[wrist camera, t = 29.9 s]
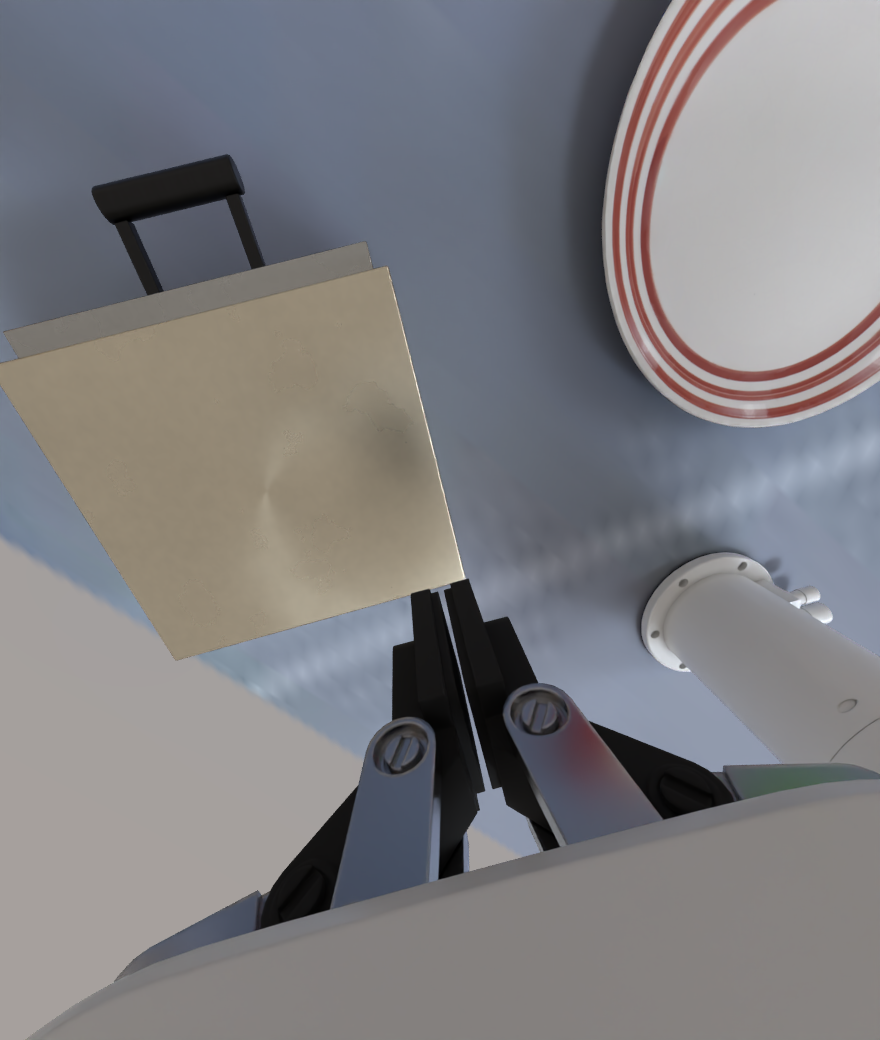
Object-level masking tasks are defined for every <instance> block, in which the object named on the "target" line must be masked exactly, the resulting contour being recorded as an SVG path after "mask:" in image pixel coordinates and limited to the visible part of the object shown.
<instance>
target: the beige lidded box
mask: <svg viewBox="0 0 880 1040" xmlns="http://www.w3.org/2000/svg"><path fill="white" fill-rule="evenodd" d="M0 385H1V387H2V389H3V390H4V392H5V393H6V395H7V397H8V398H9V400H10V401H11V403H12V404H13V406H14V408H15V409H16V411H17V412H18V414H19V415H20V417H21V419H22V420H23V422H24V423H25V425H26V426H27V428H28V430H29V431H30V433H31V434H32V436H33V437H34V439H35V441H36V442H37V444H38V445H39V447H40V448H41V450H42V452H43V453H44V455H45V456H46V458H47V459H48V461H49V463H50V464H51V466H52V467H53V469H54V470H55V472H56V474H57V475H58V477H59V478H60V480H61V481H62V483H63V485H64V486H65V488H66V489H67V491H68V492H69V494H70V496H71V497H72V499H73V500H74V502H75V503H76V505H77V507H78V508H79V510H80V511H81V513H82V514H83V516H84V518H85V519H86V521H87V522H88V524H89V525H90V527H91V529H92V530H93V532H94V533H95V535H96V536H97V538H98V540H99V541H100V543H101V544H102V546H103V547H104V549H105V551H106V552H107V554H108V555H109V557H110V558H111V560H112V562H113V563H114V565H115V566H116V568H117V569H118V571H119V573H120V574H121V576H122V577H123V579H124V580H125V582H126V584H127V585H128V587H129V588H130V590H131V591H132V593H133V595H134V596H135V598H136V599H137V601H138V602H139V604H140V606H141V607H142V609H143V610H144V612H145V613H146V615H147V617H148V618H149V620H150V621H151V623H152V624H153V626H154V628H155V629H156V631H157V632H158V634H159V635H160V637H161V639H162V640H163V642H164V643H165V645H166V646H167V648H168V649H169V651H170V653H171V654H172V656H173V657H174V659H175V660H180V659H183V658H188V657H191V656H195V655H198V654H202V653H205V652H209V651H213V650H216V649H220V648H223V647H227V646H231V645H234V644H238V643H241V642H245V641H248V640H252V639H256V638H259V637H263V636H266V635H270V634H273V633H277V632H281V631H284V630H288V629H291V628H295V627H298V626H302V625H306V624H309V623H313V622H316V621H320V620H323V619H327V618H331V617H334V616H338V615H341V614H345V613H348V612H352V611H356V610H359V609H363V608H366V607H370V606H374V605H377V604H381V603H384V602H388V601H391V600H395V599H399V598H402V597H406V596H409V595H411V593H414V592H418V591H422V590H426V589H430V590H431V589H434V588H438V587H441V586H445V585H449V584H450V583H453V582H457V581H460V580H464V579H466V577H465V573H464V569H463V565H462V561H461V557H460V553H459V549H458V545H457V541H456V537H455V533H454V529H453V525H452V521H451V516H450V512H449V508H448V504H447V500H446V496H445V492H444V488H443V484H442V480H441V476H440V472H439V468H438V464H437V460H436V456H435V452H434V448H433V444H432V440H431V436H430V432H429V428H428V424H427V420H426V416H425V412H424V408H423V404H422V400H421V396H420V391H419V387H418V383H417V379H416V375H415V371H414V367H413V363H412V359H411V355H410V351H409V347H408V343H407V339H406V335H405V331H404V327H403V323H402V319H401V315H400V311H399V307H398V303H397V299H396V295H395V291H394V287H393V283H392V279H391V275H390V271H389V267H388V266H382V267H378V268H374V269H370V270H367V271H363V272H359V273H355V274H351V275H347V276H343V277H339V278H335V279H331V280H327V281H323V282H319V283H315V284H311V285H307V286H303V287H299V288H295V289H291V290H287V291H283V292H279V293H275V294H271V295H268V296H264V297H260V298H256V299H252V300H248V301H244V302H240V303H236V304H232V305H228V306H224V307H220V308H216V309H212V310H208V311H204V312H200V313H196V314H192V315H188V316H184V317H180V318H176V319H172V320H169V321H165V322H161V323H157V324H153V325H149V326H145V327H141V328H137V329H133V330H129V331H125V332H121V333H117V334H113V335H109V336H105V337H101V338H97V339H93V340H89V341H85V342H81V343H77V344H73V345H69V346H66V347H62V348H58V349H54V350H50V351H46V352H42V353H38V354H34V355H30V356H26V357H22V358H18V359H14V360H10V361H6V362H2V363H0Z"/></svg>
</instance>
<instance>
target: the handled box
mask: <svg viewBox="0 0 880 1040" xmlns="http://www.w3.org/2000/svg"><path fill="white" fill-rule="evenodd" d="M244 194H245V189H244V185H243V182H242V179H241V176H240V173H239V171H238V169H237V166H236V164H235V162H234V160H233V159H232V157H231V156H230V155H228V154H226V155H222V156H218V157H214V158H209V159H205V160H201V161H197V162H193V163H189V164H184V165H180V166H176V167H172V168H168V169H164V170H159V171H155V172H151V173H147V174H143V175H139V176H134V177H130V178H126V179H122V180H118V181H114V182H110V183H105V184H101V185H97V186H94V187H93V188H92V195H93V198H94V200H95V203H96V205H97V206H98V208H99V210H100V211H101V213H102V214H103V215H104V217H105V218H106V219H107V220H108V221H109V222H110V223H111V224H113V225H115V226H116V228H117V230H118V232H119V235H120V237H121V239H122V241H123V243H124V245H125V248H126V250H127V252H128V254H129V256H130V259H131V261H132V263H133V265H134V267H135V269H136V272H137V274H138V276H139V278H140V280H141V282H142V285H143V287H144V289H145V291H146V293H147V296H143V297H139V298H135V299H131V300H127V301H123V302H119V303H115V304H111V305H107V306H103V307H99V308H95V309H91V310H87V311H83V312H79V313H75V314H71V315H67V316H63V317H59V318H55V319H51V320H47V321H43V322H39V323H35V324H31V325H27V326H23V327H19V328H15V329H11V330H7V331H4V332H3V333H4V335H5V337H6V338H7V340H8V341H9V343H10V345H11V346H12V348H13V350H14V351H15V353H16V355H17V356H18V358H22V357H26V356H30V355H34V354H38V353H42V352H46V351H50V350H54V349H58V348H62V347H66V346H69V345H73V344H77V343H81V342H85V341H89V340H93V339H97V338H101V337H105V336H109V335H113V334H117V333H121V332H125V331H129V330H133V329H137V328H141V327H145V326H149V325H153V324H157V323H161V322H165V321H169V320H172V319H176V318H180V317H184V316H188V315H192V314H196V313H200V312H204V311H208V310H212V309H216V308H220V307H224V306H228V305H232V304H236V303H240V302H244V301H248V300H252V299H256V298H260V297H264V296H268V295H271V294H275V293H279V292H283V291H287V290H291V289H295V288H299V287H303V286H307V285H311V284H315V283H319V282H323V281H327V280H331V279H335V278H339V277H343V276H347V275H351V274H355V273H359V272H363V271H367V270H370V269H373V265H372V261H371V257H370V253H369V250H368V246H367V242H366V241H363V242H359V243H355V244H351V245H347V246H343V247H339V248H335V249H331V250H327V251H323V252H319V253H315V254H311V255H307V256H303V257H299V258H295V259H291V260H287V261H283V262H279V263H275V264H271V265H267V266H266V265H265V262H264V259H263V256H262V253H261V251H260V248H259V245H258V242H257V239H256V236H255V233H254V231H253V228H252V225H251V222H250V219H249V216H248V214H247V211H246V208H245V205H244V202H243V199H242V197H241V195H244ZM224 199H226V200H227V203H228V205H229V208H230V211H231V214H232V216H233V219H234V222H235V225H236V227H237V230H238V233H239V236H240V238H241V241H242V244H243V247H244V249H245V252H246V255H247V258H248V260H249V263H250V266H251V270H247V271H243V272H239V273H235V274H231V275H227V276H223V277H219V278H215V279H211V280H207V281H203V282H199V283H195V284H191V285H187V286H183V287H179V288H175V289H171V290H167V291H164V290H163V288H162V286H161V284H160V282H159V279H158V277H157V275H156V273H155V270H154V268H153V266H152V264H151V261H150V259H149V257H148V255H147V252H146V250H145V248H144V246H143V243H142V241H141V239H140V237H139V234H138V232H137V230H136V228H135V225H134V224H133V223H131V222H134V221H138V220H142V219H146V218H151V217H155V216H159V215H163V214H167V213H171V212H175V211H179V210H183V209H187V208H192V207H196V206H200V205H204V204H208V203H212V202H216V201H220V200H224Z"/></svg>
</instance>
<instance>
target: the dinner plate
mask: <svg viewBox="0 0 880 1040" xmlns="http://www.w3.org/2000/svg"><path fill="white" fill-rule="evenodd" d="M602 248H603V263H604V269H605V278H606V285H607V290H608V295H609V299H610V303H611V307H612V311H613V314H614V318H615V321H616V324H617V327H618V329H619V332H620V334H621V337H622V339H623V341H624V343H625V345H626V347H627V349H628V351H629V353H630V355H631V357H632V358H633V360H634V362H635V363H636V365H637V366H638V368H639V369H640V370H641V372H642V373H643V374H644V376H645V377H646V378H647V379H648V381H649V382H650V383H651V384H652V385H653V386H654V387H655V388H656V389H657V390H658V391H659V392H660V393H661V394H662V395H663V396H664V397H666V398H667V399H668V400H669V401H671V402H672V403H673V404H675V405H676V406H678V407H679V408H681V409H682V410H684V411H686V412H688V413H690V414H692V415H694V416H696V417H698V418H701V419H704V420H706V421H710V422H713V423H717V424H721V425H726V426H732V427H744V428H759V427H771V426H779V425H784V424H788V423H793V422H796V421H800V420H803V419H806V418H809V417H812V416H815V415H818V414H820V413H822V412H824V411H827V410H829V409H831V408H833V407H836V406H838V405H840V404H842V403H844V402H845V401H847V400H849V399H851V398H853V397H855V396H856V395H858V394H860V393H861V392H863V391H865V390H866V389H868V388H869V387H871V386H872V385H874V384H875V383H877V382H878V381H879V380H880V0H672V1H671V3H670V5H669V7H668V8H667V10H666V12H665V13H664V15H663V17H662V19H661V20H660V22H659V24H658V26H657V28H656V30H655V32H654V34H653V36H652V38H651V40H650V42H649V44H648V46H647V48H646V51H645V53H644V55H643V58H642V60H641V62H640V65H639V67H638V69H637V72H636V75H635V77H634V79H633V81H632V84H631V87H630V89H629V92H628V95H627V98H626V101H625V104H624V107H623V111H622V114H621V117H620V121H619V124H618V128H617V132H616V135H615V139H614V143H613V147H612V152H611V156H610V161H609V167H608V172H607V178H606V186H605V195H604V204H603V215H602Z"/></svg>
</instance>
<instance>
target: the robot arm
mask: <svg viewBox="0 0 880 1040" xmlns="http://www.w3.org/2000/svg"><path fill="white" fill-rule="evenodd" d="M450 585H451V588H450V589H446V590H444V593H445V598H446V602H447V607H448V611H449V616H450V620H451V625H452V629H453V634H454V638H455V643H456V648H457V652H458V657H459V661H460V666H461V670H462V675H463V679H464V684H465V688H466V692H467V696H468V700H469V703H470V707H471V711H472V715H473V718H474V722H475V726H476V729H477V733H478V737H479V741H480V744H481V748H482V752H483V756H484V759H485V763H486V767H487V770H488V774H489V778H490V782H491V785H492V789H496V788H499V787H502V789H503V793H504V797H505V801H506V805H508V806H509V807H511V808H512V809H514V810H516V811H517V812H519V813H521V814H522V815H524V816H526V818H527V822H528V825H529V828H530V830H531V833H532V835H533V837H534V839H535V842H536V844H537V846H538V848H539V851H540V853H537V854H533V855H529V856H526V857H522V858H518V859H515V860H511V861H507V862H503V863H500V864H496V865H492V866H488V867H485V868H481V869H477V870H474V871H470V872H469V843H468V836H467V829H468V827H469V826H470V824H471V822H472V821H473V819H474V817H475V816H476V814H477V811H479V810H480V809H479V804H478V799H477V793H481V792H484V791H485V788H484V783H483V778H482V773H481V769H480V764H479V759H478V755H477V750H476V745H475V741H474V736H473V731H472V727H471V722H470V717H469V713H468V708H467V703H466V699H465V694H464V689H463V685H462V680H461V675H460V671H459V667H458V663H457V660H456V656H455V652H454V649H453V645H452V641H451V638H450V634H449V630H448V626H447V623H446V619H445V615H444V612H443V608H442V604H441V601H440V597H439V593H438V592H434V593H431V591H430V589H426V590H422V591H418V592H414V593H411V605H412V620H413V634H414V641H411V642H407V643H404V644H400V645H396V646H394V647H393V687H392V721H391V722H390V723H388V724H386V725H384V726H383V727H382V728H381V729H380V730H379V731H378V732H376V734H375V735H374V737H373V738H372V739H371V741H370V743H369V745H368V748H367V751H366V754H365V759H364V763H363V767H362V772H361V776H360V781H359V785H358V786H357V787H356V788H355V790H354V791H353V792H352V793H351V794H350V795H349V796H348V798H347V799H346V800H345V801H344V802H343V803H342V804H341V806H340V807H339V808H338V809H337V810H336V811H335V813H334V814H333V815H332V816H331V817H330V818H329V819H328V821H327V822H326V823H325V824H324V825H323V826H322V828H321V829H320V830H319V831H318V832H317V833H316V835H315V836H314V837H313V838H312V839H311V840H310V841H309V843H308V844H307V845H306V846H305V847H304V848H303V849H302V851H301V852H300V853H299V854H298V855H297V856H296V858H295V859H294V860H293V861H292V862H291V863H290V864H289V866H288V867H287V868H286V869H285V870H284V871H283V873H282V874H281V875H280V877H279V878H278V880H277V881H276V882H275V884H274V885H273V887H272V889H271V891H269V892H267V893H266V894H264V895H261V894H260V893H259V891H258V890H257V891H255V892H254V893H252V894H250V895H248V896H246V897H244V898H242V899H241V900H239V901H237V902H235V903H233V904H231V905H229V906H227V907H225V908H223V909H222V910H220V911H218V912H216V913H214V914H212V915H210V916H208V917H207V918H205V919H203V920H201V921H199V922H197V923H195V924H194V925H191V926H190V927H188V928H186V929H184V930H182V931H180V932H178V933H176V934H175V935H173V936H171V937H169V938H167V939H165V940H163V941H161V942H160V943H158V944H156V945H154V946H152V947H150V948H149V949H147V950H146V951H145V952H143V953H142V954H140V955H139V956H137V957H136V958H135V959H133V961H132V962H131V963H130V964H129V965H128V966H127V967H126V968H125V969H124V970H123V971H122V972H121V973H120V975H119V976H118V977H117V978H116V980H115V981H114V983H112V984H110V985H108V986H107V987H105V988H103V989H101V990H99V991H98V992H96V993H94V994H92V995H91V996H89V997H87V998H86V999H84V1000H82V1001H80V1002H79V1003H77V1004H75V1005H74V1006H72V1007H71V1008H69V1009H68V1010H67V1011H65V1012H64V1013H62V1014H61V1015H59V1016H58V1017H56V1018H55V1019H54V1020H52V1021H51V1022H49V1023H48V1024H46V1025H45V1026H44V1027H42V1028H41V1029H39V1030H38V1031H36V1032H35V1033H34V1034H32V1035H31V1036H30V1037H28V1038H27V1039H26V1040H880V657H879V656H878V655H876V654H874V653H873V652H871V651H869V650H868V649H866V648H864V647H863V646H861V645H859V644H858V643H856V642H854V641H853V640H851V639H849V638H848V637H846V636H844V635H843V634H841V633H839V632H838V631H836V630H834V629H832V628H831V627H829V626H827V625H826V623H829V622H831V621H832V619H833V616H832V613H831V611H830V610H829V608H828V607H827V606H825V605H824V604H822V603H819V602H816V603H812V604H808V605H805V606H801V604H802V605H803V604H807V603H811V602H814V601H818V600H819V599H820V598H821V597H820V593H819V591H818V590H817V589H816V588H815V587H813V586H807V587H803V588H800V589H796V590H794V591H792V592H788V591H785V590H783V589H781V588H779V587H778V586H776V585H774V584H773V581H772V578H771V576H770V575H769V573H768V572H767V570H766V569H765V568H764V567H763V566H761V565H760V564H759V563H758V562H756V561H754V560H752V559H750V558H748V557H746V556H743V555H740V554H737V553H727V552H723V553H713V554H709V555H706V556H702V557H699V558H697V559H695V560H692V561H690V562H688V563H686V564H685V565H683V566H681V567H680V568H678V569H677V570H675V571H674V572H673V573H672V574H670V575H669V576H668V577H667V578H666V579H665V580H664V581H663V582H662V583H661V584H660V585H659V587H658V588H657V589H656V590H655V592H654V593H653V595H652V596H651V598H650V599H649V601H648V603H647V606H646V608H645V611H644V614H643V618H642V623H641V634H642V638H643V642H644V644H645V646H646V648H647V650H648V651H649V652H650V653H651V655H652V656H653V657H654V658H655V659H656V660H657V661H658V662H659V663H661V664H662V665H663V666H665V667H668V668H670V669H672V670H676V671H681V672H692V673H693V674H694V675H695V676H696V677H697V678H698V679H699V680H700V681H701V682H702V683H703V684H704V685H705V686H706V687H707V688H708V689H709V690H710V691H711V692H712V693H713V694H714V695H715V696H716V697H717V698H718V699H719V700H720V701H721V702H722V703H723V704H724V705H725V706H726V707H727V708H728V709H729V710H730V711H731V712H732V713H733V714H734V715H735V716H736V717H737V718H738V719H739V720H740V721H741V722H742V723H743V724H744V725H745V726H746V727H747V728H748V729H749V730H750V731H751V732H752V733H753V734H754V735H755V736H756V737H757V738H758V739H759V740H760V741H761V742H762V743H763V744H764V745H765V746H766V747H767V748H768V749H769V750H770V751H771V752H772V753H773V755H774V756H775V757H776V758H777V759H778V760H779V761H780V762H781V763H782V764H767V765H728V766H723V772H710V771H709V770H707V769H705V768H703V767H701V766H699V765H698V764H696V763H694V762H691V761H689V760H686V759H684V758H681V757H679V756H676V755H674V754H671V753H669V752H666V751H664V750H661V749H658V748H656V747H653V746H651V745H648V744H646V743H643V742H641V741H638V740H636V739H633V738H631V737H628V736H626V735H623V734H621V733H618V732H615V731H613V730H610V729H608V728H605V727H603V726H600V725H598V724H595V723H593V722H590V721H588V720H587V719H586V717H585V716H584V715H583V713H582V712H581V711H580V709H579V708H578V707H577V705H576V704H575V703H574V702H573V700H572V699H571V698H570V697H569V696H568V695H567V694H566V693H565V692H564V691H563V690H561V689H559V688H557V687H555V686H553V685H549V684H544V683H538V681H537V679H536V677H535V675H534V672H533V670H532V668H531V666H530V664H529V661H528V659H527V657H526V655H525V653H524V650H523V648H522V646H521V644H520V642H519V639H518V637H517V635H516V633H515V631H514V628H513V626H512V624H511V622H510V620H509V618H508V617H504V618H500V619H496V620H492V621H488V622H483V619H482V616H481V613H480V610H479V608H478V605H477V602H476V599H475V596H474V593H473V590H472V588H471V585H470V582H469V579H464V580H460V581H457V582H453V583H450ZM800 606H801V607H800Z"/></svg>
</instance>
